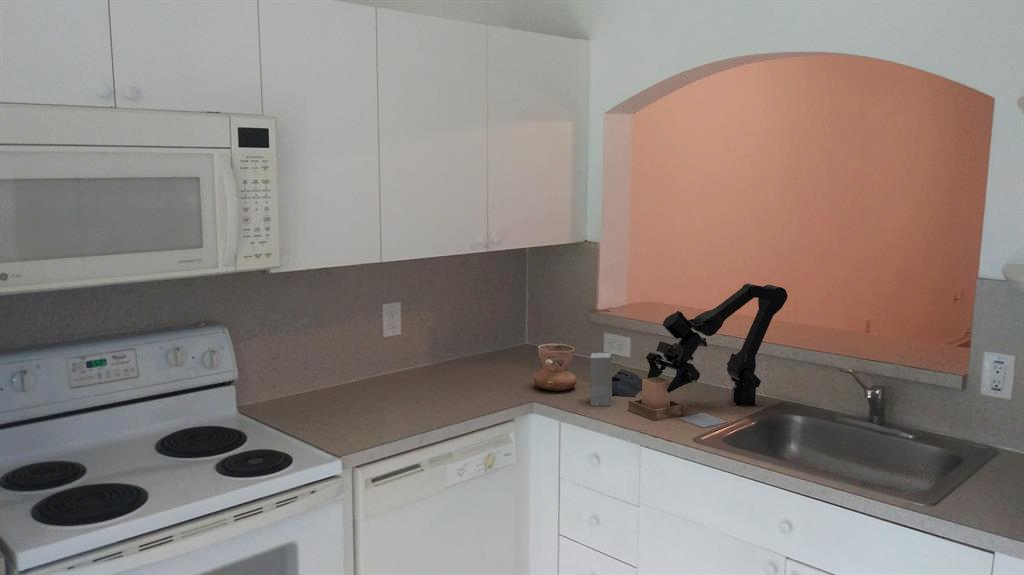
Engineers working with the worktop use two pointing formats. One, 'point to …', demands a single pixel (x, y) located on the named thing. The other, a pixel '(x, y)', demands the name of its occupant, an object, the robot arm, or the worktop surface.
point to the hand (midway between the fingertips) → (657, 387)
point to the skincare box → (601, 379)
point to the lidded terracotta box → (655, 393)
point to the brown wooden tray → (656, 414)
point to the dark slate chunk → (626, 384)
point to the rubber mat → (703, 420)
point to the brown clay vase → (555, 367)
